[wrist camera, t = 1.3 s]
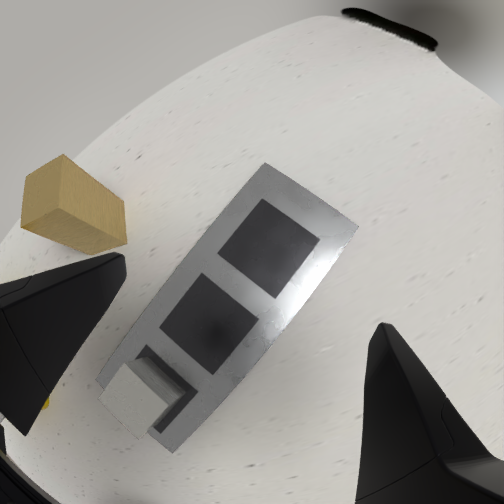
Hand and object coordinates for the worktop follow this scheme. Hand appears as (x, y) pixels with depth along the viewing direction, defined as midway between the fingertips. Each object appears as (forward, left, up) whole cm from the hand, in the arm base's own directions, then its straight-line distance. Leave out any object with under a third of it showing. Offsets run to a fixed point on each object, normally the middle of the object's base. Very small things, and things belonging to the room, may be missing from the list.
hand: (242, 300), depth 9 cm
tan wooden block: (-4, +17, -14) cm, 22 cm away
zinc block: (-12, +3, -13) cm, 18 cm away
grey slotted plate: (-3, +3, -14) cm, 15 cm away
